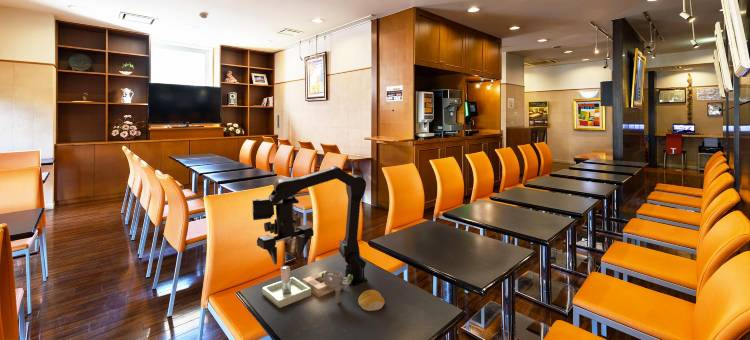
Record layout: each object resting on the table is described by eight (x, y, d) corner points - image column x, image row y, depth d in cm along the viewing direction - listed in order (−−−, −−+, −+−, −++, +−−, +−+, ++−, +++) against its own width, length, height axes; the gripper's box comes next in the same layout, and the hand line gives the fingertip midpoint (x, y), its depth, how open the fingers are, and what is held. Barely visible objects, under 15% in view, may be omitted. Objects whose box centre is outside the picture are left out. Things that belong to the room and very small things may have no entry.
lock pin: (288, 289, 125) (286, 265, 124) (292, 292, 123) (291, 267, 121) (280, 292, 123) (279, 267, 122) (285, 295, 121) (283, 270, 119)
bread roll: (378, 295, 123) (378, 284, 122) (387, 309, 114) (387, 297, 113) (355, 299, 120) (354, 288, 119) (362, 313, 112) (362, 301, 111)
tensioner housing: (326, 277, 135) (325, 270, 135) (342, 287, 128) (341, 279, 127) (303, 286, 129) (302, 279, 128) (318, 297, 121) (318, 289, 121)
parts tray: (293, 282, 132) (293, 276, 131) (311, 295, 123) (311, 288, 122) (262, 294, 124) (262, 287, 123) (279, 308, 115) (278, 300, 114)
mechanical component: (351, 305, 116) (351, 277, 114) (321, 302, 118) (320, 274, 116) (354, 301, 119) (353, 272, 117) (324, 298, 121) (323, 270, 119)
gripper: (296, 206, 132) (298, 246, 135) (248, 217, 120) (251, 261, 122) (313, 212, 124) (315, 255, 127) (263, 224, 112) (266, 271, 114)
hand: (287, 260), depth 123 cm, fingers open, 9 cm apart
